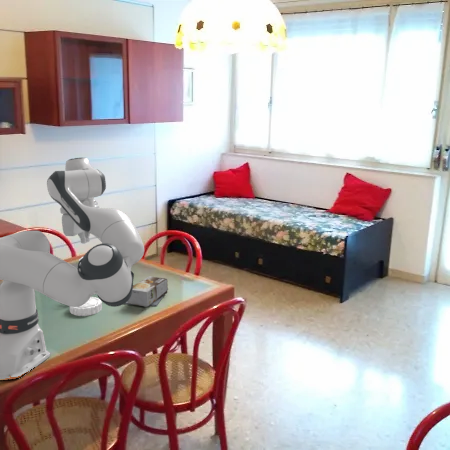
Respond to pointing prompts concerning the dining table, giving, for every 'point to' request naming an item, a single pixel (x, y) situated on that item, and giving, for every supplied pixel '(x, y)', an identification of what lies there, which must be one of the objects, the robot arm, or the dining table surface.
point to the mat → (152, 303)
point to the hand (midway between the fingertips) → (85, 242)
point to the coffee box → (148, 291)
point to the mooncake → (87, 307)
